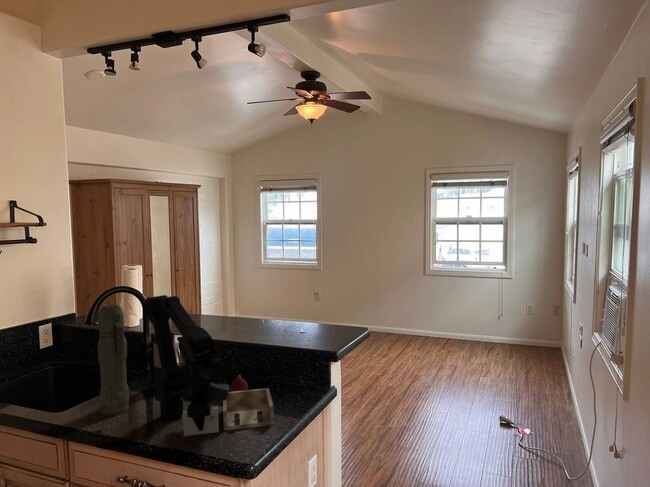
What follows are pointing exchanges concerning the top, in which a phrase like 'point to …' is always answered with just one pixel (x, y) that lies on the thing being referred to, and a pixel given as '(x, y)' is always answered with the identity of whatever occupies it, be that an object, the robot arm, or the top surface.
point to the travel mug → (158, 360)
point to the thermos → (112, 361)
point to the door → (209, 424)
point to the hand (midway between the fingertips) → (201, 427)
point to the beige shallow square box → (248, 409)
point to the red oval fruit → (239, 384)
